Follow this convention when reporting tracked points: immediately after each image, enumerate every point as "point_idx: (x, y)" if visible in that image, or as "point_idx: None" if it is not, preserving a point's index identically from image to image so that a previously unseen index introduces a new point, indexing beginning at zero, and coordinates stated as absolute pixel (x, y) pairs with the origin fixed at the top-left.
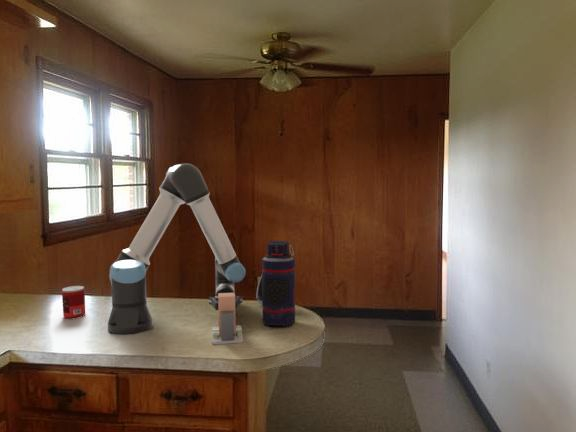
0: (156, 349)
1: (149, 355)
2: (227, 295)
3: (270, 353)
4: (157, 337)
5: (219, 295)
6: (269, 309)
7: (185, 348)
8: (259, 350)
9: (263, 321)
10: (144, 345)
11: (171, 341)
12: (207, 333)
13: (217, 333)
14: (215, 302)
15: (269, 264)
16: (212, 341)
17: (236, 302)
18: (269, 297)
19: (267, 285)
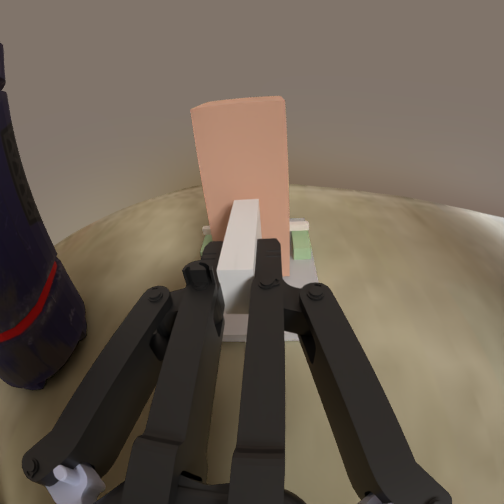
0: (429, 216)
1: (423, 200)
2: (237, 99)
3: (177, 194)
4: (479, 271)
5: (275, 97)
6: (55, 250)
7: (368, 214)
8: (192, 201)
9: (81, 328)
10: (468, 234)
11: (427, 246)
12: (338, 294)
13: (292, 240)
14: (335, 309)
15: (3, 58)
16: (303, 219)
17: (137, 308)
18: (34, 202)
19: (16, 151)
